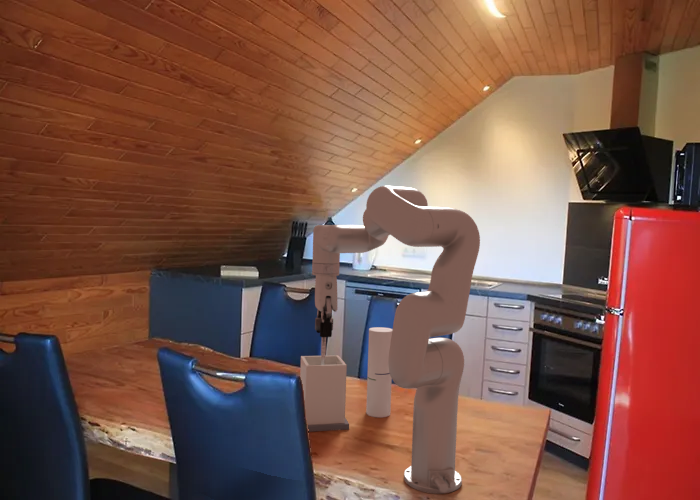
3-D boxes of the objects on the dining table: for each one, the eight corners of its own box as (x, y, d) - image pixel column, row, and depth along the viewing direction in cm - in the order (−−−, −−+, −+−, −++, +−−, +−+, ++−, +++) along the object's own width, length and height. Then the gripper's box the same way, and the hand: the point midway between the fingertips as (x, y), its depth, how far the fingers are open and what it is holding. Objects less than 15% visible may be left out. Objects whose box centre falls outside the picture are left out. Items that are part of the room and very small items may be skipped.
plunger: (340, 399, 154) (342, 321, 153) (309, 400, 152) (311, 321, 151) (334, 389, 163) (336, 316, 162) (304, 390, 161) (306, 316, 160)
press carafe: (349, 429, 153) (351, 365, 152) (301, 431, 150) (303, 367, 149) (339, 413, 166) (341, 354, 165) (295, 415, 163) (296, 355, 162)
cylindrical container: (388, 418, 163) (391, 332, 161) (364, 415, 164) (367, 330, 163) (391, 410, 170) (394, 328, 168) (368, 408, 171) (371, 326, 170)
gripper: (345, 272, 148) (343, 341, 149) (333, 267, 165) (331, 328, 166) (317, 272, 147) (315, 341, 148) (307, 266, 163) (306, 329, 164)
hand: (323, 334), depth 157 cm, fingers closed on plunger, 5 cm apart
